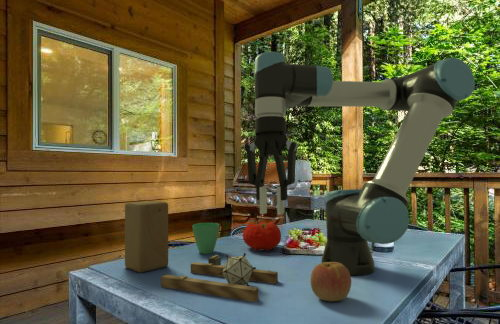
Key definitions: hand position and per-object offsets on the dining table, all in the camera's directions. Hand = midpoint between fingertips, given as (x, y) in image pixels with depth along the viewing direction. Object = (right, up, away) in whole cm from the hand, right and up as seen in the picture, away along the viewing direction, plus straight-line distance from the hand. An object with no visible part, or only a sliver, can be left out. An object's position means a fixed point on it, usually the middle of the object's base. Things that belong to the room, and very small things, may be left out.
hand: (271, 213), depth 79 cm
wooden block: (-37, -20, +22) cm, 48 cm away
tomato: (0, -21, +45) cm, 49 cm away
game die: (-8, -19, +3) cm, 21 cm away
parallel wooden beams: (-12, -19, +7) cm, 24 cm away
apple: (+13, -19, -6) cm, 23 cm away
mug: (-22, -21, +43) cm, 52 cm away
